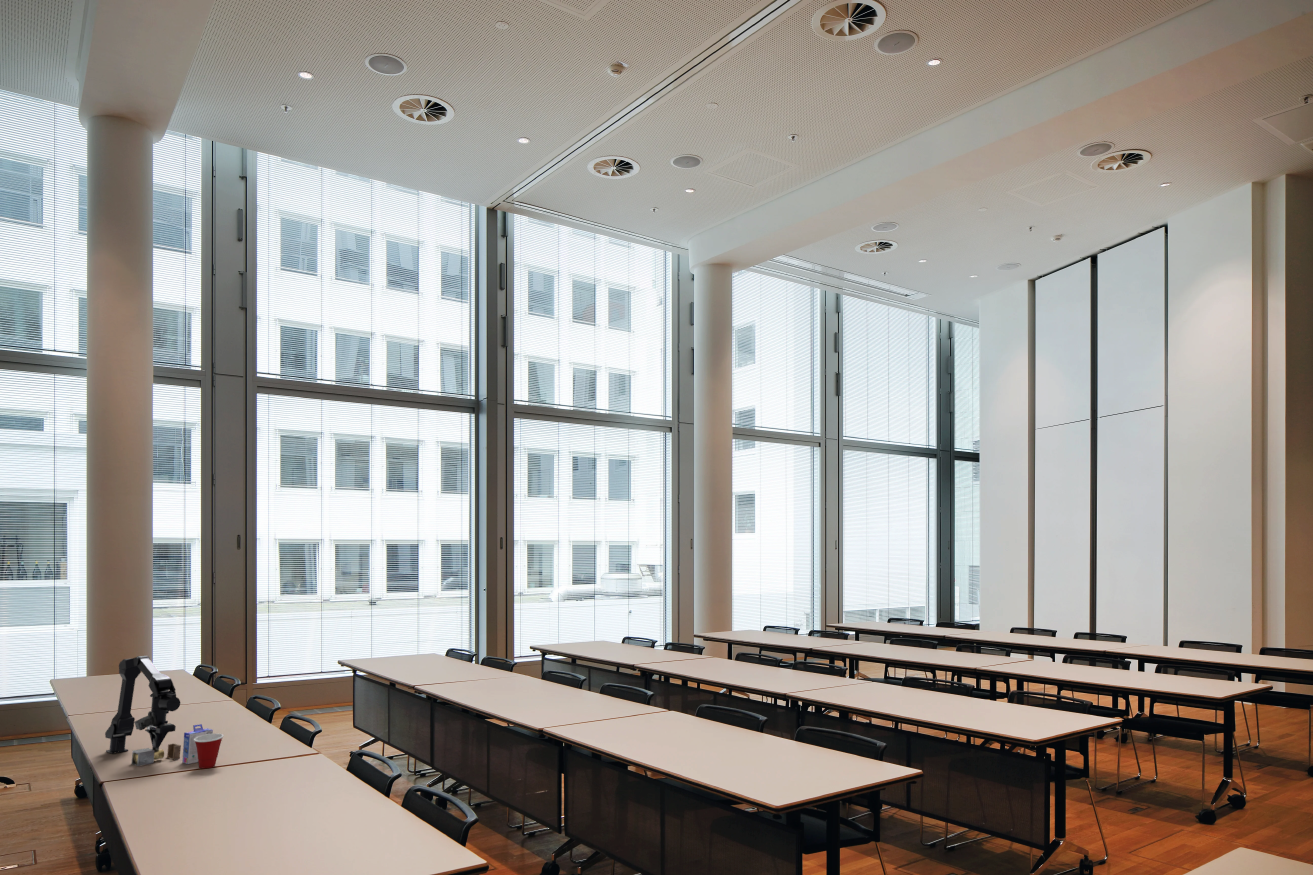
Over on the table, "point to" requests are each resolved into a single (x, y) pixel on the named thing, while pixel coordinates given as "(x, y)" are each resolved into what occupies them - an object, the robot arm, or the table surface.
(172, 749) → the socket block
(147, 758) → the grey hammer head
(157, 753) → the gold elongated piece
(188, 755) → the ink cartridge box
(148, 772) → the table surface
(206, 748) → the plastic cup
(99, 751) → the table surface
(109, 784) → the table surface
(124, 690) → the robot arm
